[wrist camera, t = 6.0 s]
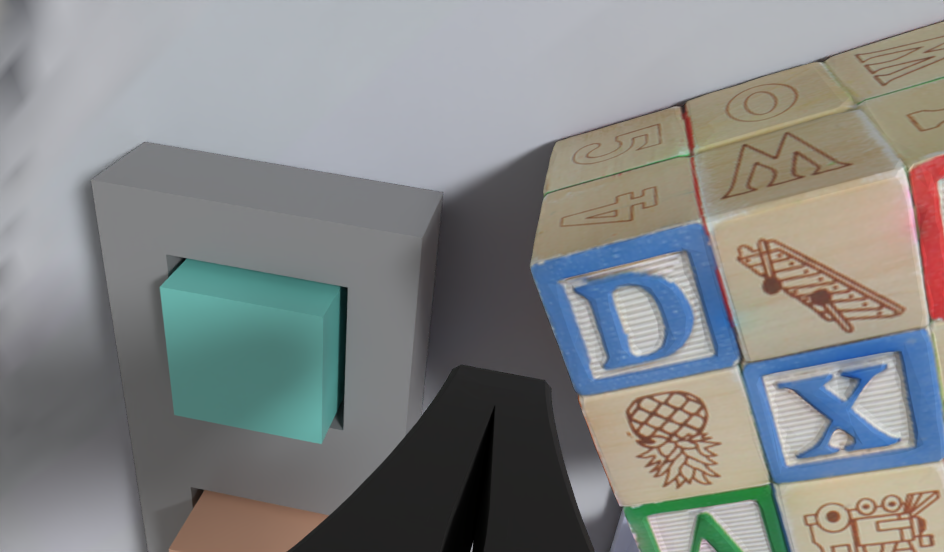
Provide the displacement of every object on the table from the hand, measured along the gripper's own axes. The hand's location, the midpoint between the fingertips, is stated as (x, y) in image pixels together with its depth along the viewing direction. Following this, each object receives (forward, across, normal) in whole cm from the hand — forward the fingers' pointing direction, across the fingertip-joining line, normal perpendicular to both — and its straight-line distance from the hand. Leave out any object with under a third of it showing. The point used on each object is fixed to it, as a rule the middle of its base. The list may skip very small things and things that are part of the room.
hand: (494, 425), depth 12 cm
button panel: (+9, +6, +13) cm, 17 cm away
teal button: (+10, +6, +5) cm, 13 cm away
